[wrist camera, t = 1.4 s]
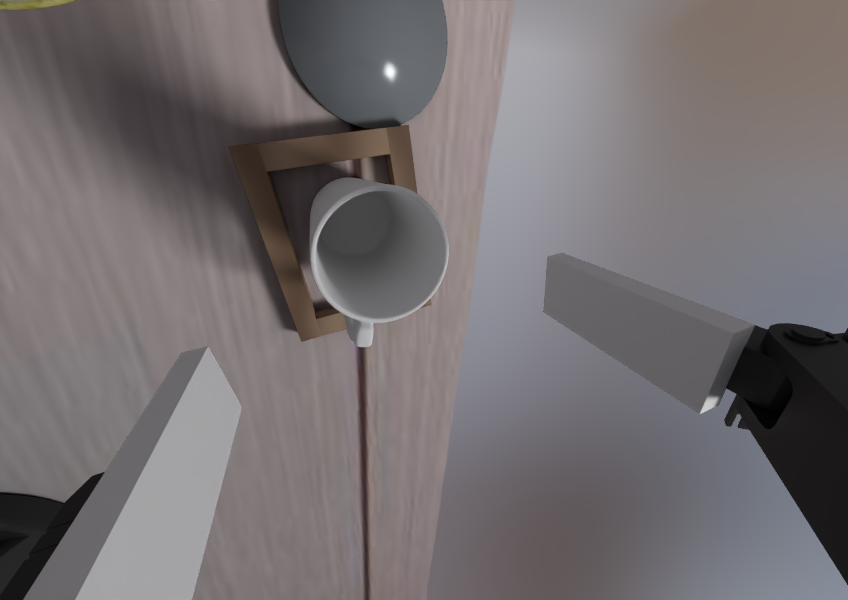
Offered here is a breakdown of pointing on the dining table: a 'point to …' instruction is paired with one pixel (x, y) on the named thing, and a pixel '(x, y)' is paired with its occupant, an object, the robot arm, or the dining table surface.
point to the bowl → (30, 4)
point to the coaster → (367, 55)
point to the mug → (375, 252)
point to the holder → (269, 216)
